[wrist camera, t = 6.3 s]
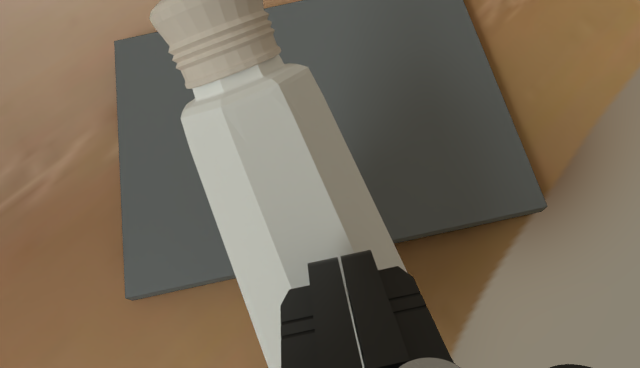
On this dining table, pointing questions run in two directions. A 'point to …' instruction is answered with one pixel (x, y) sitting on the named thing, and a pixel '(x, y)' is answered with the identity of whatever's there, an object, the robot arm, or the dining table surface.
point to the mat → (353, 122)
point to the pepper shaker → (267, 157)
